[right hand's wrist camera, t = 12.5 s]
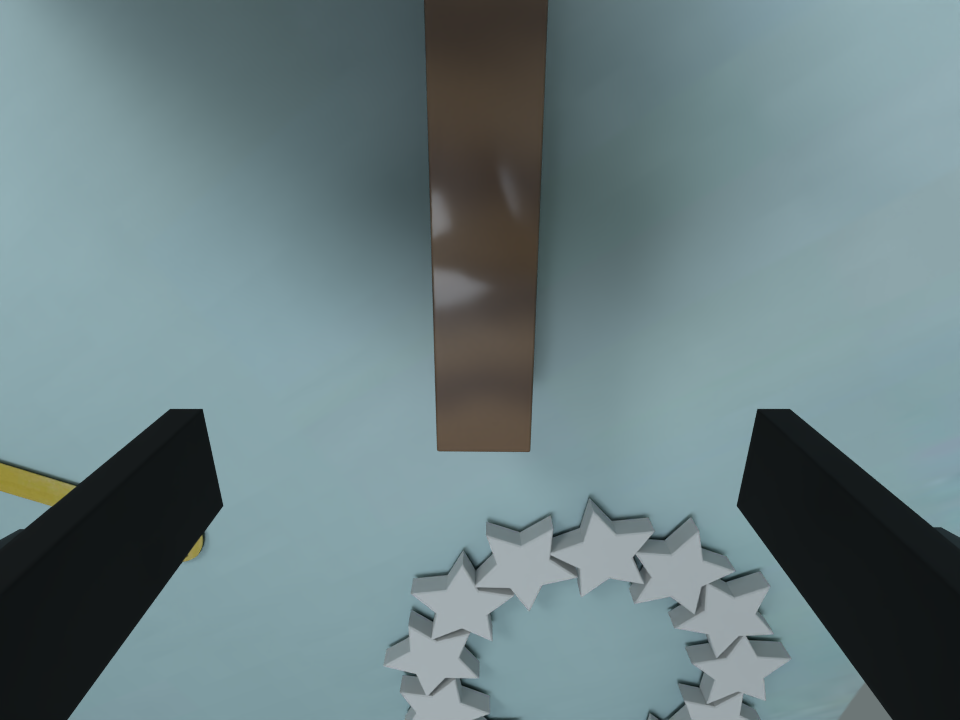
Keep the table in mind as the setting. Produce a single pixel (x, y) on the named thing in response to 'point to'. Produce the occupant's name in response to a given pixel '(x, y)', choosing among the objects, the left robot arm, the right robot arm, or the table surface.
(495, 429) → the bar
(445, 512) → the table surface
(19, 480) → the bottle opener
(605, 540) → the decorative wreath
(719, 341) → the table surface
